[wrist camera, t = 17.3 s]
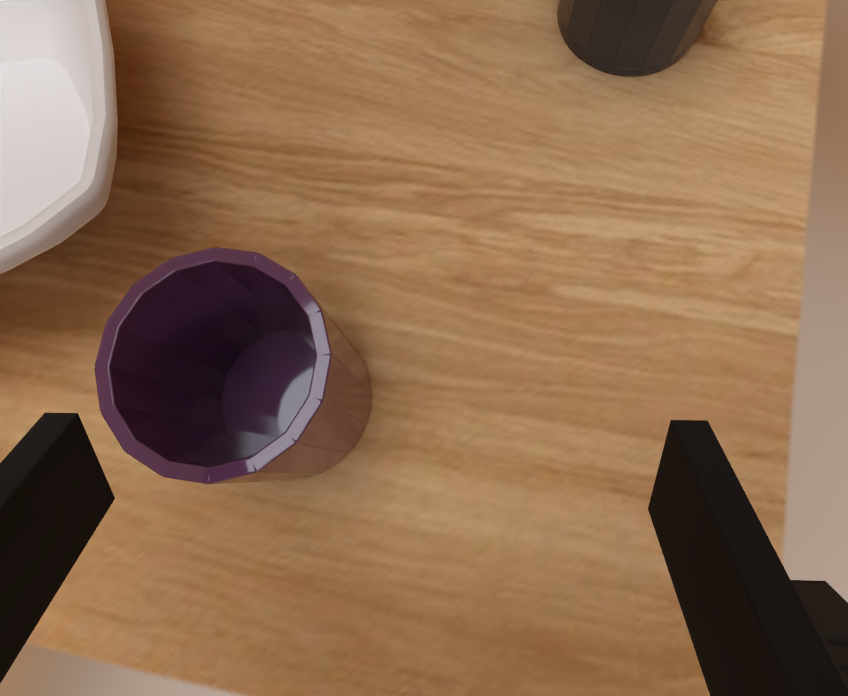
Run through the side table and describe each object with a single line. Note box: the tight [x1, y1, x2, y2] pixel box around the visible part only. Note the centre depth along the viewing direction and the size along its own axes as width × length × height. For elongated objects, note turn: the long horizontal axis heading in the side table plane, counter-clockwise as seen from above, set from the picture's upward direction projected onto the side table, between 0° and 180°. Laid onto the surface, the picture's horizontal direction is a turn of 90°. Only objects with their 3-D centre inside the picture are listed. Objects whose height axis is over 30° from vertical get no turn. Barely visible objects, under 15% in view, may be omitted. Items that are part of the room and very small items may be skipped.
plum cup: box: [95, 247, 372, 484], centre depth 24 cm, size 7×7×10 cm
